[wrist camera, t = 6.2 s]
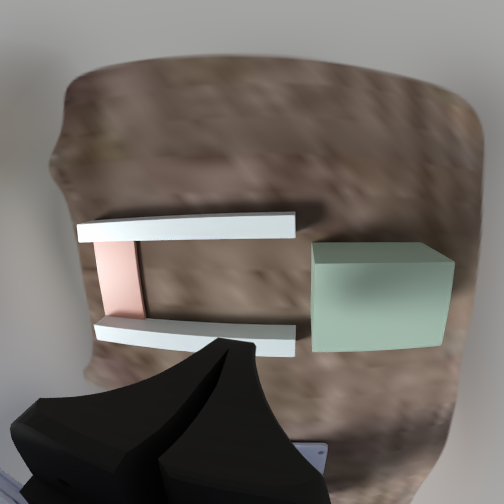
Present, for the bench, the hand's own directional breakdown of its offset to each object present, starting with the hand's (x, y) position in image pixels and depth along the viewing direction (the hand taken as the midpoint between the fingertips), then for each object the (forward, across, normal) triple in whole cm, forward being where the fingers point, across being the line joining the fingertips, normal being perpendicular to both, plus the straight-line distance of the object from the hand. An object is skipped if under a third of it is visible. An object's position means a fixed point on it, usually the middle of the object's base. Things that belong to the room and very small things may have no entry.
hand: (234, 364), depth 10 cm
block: (+10, -6, -1) cm, 12 cm away
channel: (+9, +5, +1) cm, 11 cm away
